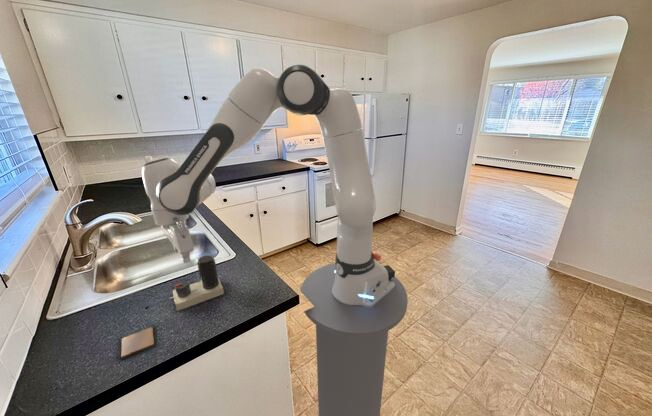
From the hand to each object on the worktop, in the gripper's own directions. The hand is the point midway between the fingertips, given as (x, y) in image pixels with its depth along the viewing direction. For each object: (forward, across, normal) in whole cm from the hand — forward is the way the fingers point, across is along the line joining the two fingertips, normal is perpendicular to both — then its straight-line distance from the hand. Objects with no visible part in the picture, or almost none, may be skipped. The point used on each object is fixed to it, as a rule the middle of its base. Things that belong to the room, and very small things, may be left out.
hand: (182, 256), depth 83 cm
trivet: (+15, -10, +17) cm, 24 cm away
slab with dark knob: (+15, -1, -2) cm, 15 cm away
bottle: (+8, +109, -12) cm, 110 cm away
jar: (+12, -2, -6) cm, 14 cm away
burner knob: (+12, 0, +2) cm, 12 cm away
